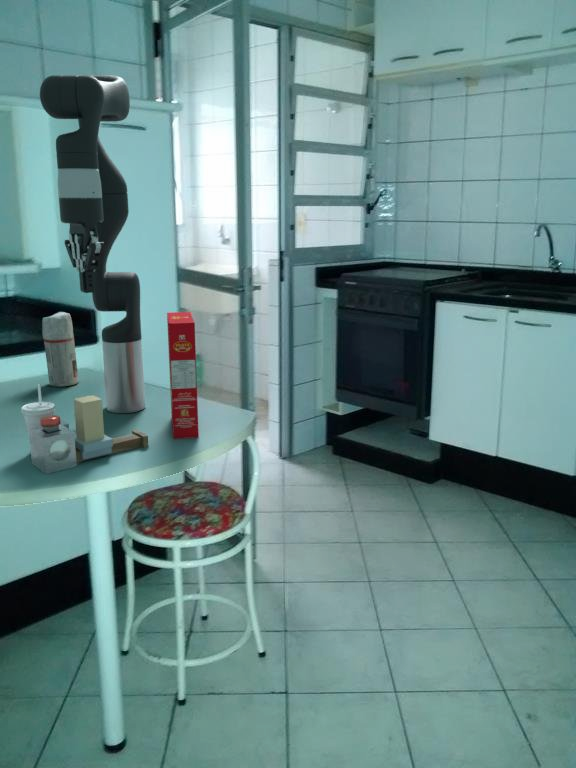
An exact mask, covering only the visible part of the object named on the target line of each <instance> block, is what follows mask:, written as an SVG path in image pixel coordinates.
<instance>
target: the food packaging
mask: <svg viewBox="0 0 576 768" xmlns="http://www.w3.org/2000/svg"><path fill="white" fill-rule="evenodd" d="M166 316H167V317H166V318H167V319H166V320H167V321H166V322H167V344H168V363H169V385H170V386H169V387H170V390H169V391H170V408H171V409H170V410H171V423H172V424H171V425H173V426H172V432H173V440H178V439H192V438H193V439H195V438H196V439H197V438H200V437H199V435H200V434H199V409H198V407H199V406H198V382H197V379H198V377H197V357H196V356H197V354H196V352H197V351H196V349H197V348H196V326H195V325H196V323H195V320H194V317H193V314H192V312H191V311H185V312H184V311H181V312H177V311H175V312H166Z"/></svg>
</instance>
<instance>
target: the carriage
mask: <svg viewBox="0 0 576 768" xmlns="http://www.w3.org/2000/svg"><path fill="white" fill-rule="evenodd" d="M73 406H74V408H73V409H74V410H73V411H74V422H75V430H76V431H75V432H76V434H74V437H75V447H76V448H77V449H79V450H80V451H81V459H83V460H84V459H88V458H92V457H96V456H100V455H104V454H109V453H112V448H111V447H112V446H113V438H112V437H109V436H108V435H107V434H105V427H104V413H103V399H102V398H100V397H98V396H96V395H94V394H93V395H87V396H81V397H75V398H73ZM60 422H61V424H62V425H64V426H65V427H67V428H69V429H70V423H69V422H66V421H65V420H63V419H61V418H60ZM109 455H110V454H109ZM84 461H85V460H84Z"/></svg>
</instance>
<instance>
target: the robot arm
mask: <svg viewBox="0 0 576 768" xmlns="http://www.w3.org/2000/svg"><path fill="white" fill-rule="evenodd" d="M39 100H40V103H41V106H42V109H43V110H44V112H46V113H47V114H48V115H49V116H50V117H51V118H54V119H58V120H77V122H78V127H79V128H78V129H77V130H75V131H72V132H71V131H70V132H66V133H63V134H59V135H58V136H57V137H56V139H55V151H56V153H55V154H56V164H57V192H58V193H57V194H58V196H57V197H58V206H59V219H60V222H61V223H62V224H69V232H68V233H69V235H68V238H69V239H64V247H65V249H66V252H67V254H68V256H69V260H70V262H71V265H72V268H75V269H76V272H77V273H78V275H79V276H78V277H79V287H80V288H79V289H80V292H81V293H84V294H89V293H90V294H91V295H92V302H93V306H94V308H95V309H96V310H97V311H98V312H109V313H110V312H125V313H126V315H125V316H124V317H123V318H122V319H121V320H119V321H118V322H116V323H115V322H114V323H113V324H109V325H107V326H105V327H103V328H102V329H101V340H102V341H101V343H102V354H103V355H102V356H103V358H102V359H103V375H104V376H103V377H104V389H105V404H106V410H107V411H108V412H110V413H113V414H114V413H116V414H129V413H130V414H131V413H137V412H140V411H143V410H144V409H146V396H145V375H144V360H143V359H144V358H143V343H142V339H143V338H142V337H143V336H142V325H141V284H140V283H141V282H140V279H139V276H138V274H137V273H135V272H134V271H107V262H108V257H109V256H110V255H109V254H110V252H111V250H112V247H113V245H114V243H115V242H116V239H117V238H118V236H119V234H121V232H122V230H123V227H124V226H125V224H126V222H127V220H128V218H129V217H128V216H129V210H130V209H129V198H128V197H129V196H128V195H129V194H128V186H127V183H126V180H125V178H124V176H123V175H122V173H121V171H120V170H119V168H118V167H117V165H116V164H115V163H114V162H113V160H112V159H111V157H110V156H109V155H108V153H107V152H106V149H105V148H104V146H103V144H102V141H101V140H100V137H99V131H100V125H101V122H112V123H113V122H115V123H116V122H121V121H124V120H126V118H127V117H128V115H129V113H130V101H131V100H130V93H129V88H128V85H127V82H126V81H125V80H124V79H123V78H122V77H120V76H116V75H111V74H110V75H106V74H105V75H102V74H101V75H98V74H97V75H96V74H82V75H77V74H76V75H71V74H70V75H69V74H67V75H66V74H65V75H64V74H63V75H62V74H57V75H55V74H54V75H49V76H47V77H46V78H44V80H42V82H41V84H40V89H39Z"/></svg>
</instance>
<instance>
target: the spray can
mask: <svg viewBox="0 0 576 768" xmlns="http://www.w3.org/2000/svg"><path fill="white" fill-rule="evenodd" d="M41 325H42V328H41V329H42V333H41V334H42V338H43V344H44V352H45V360H46V361H45V362H46V368H47V376H48V381H49V386H52V387H55V388H56V387H59V388H62V387H67V386H68V387H69V386H73V385H76V384H78V383H79V374H78V373H79V371H78V365H77V353H76V345H75V335H74V327H73V320H72V317H71V314H70V313H68V312H65V311H58V312H56V313H54V314H52V315H50V316H46V317H42V324H41Z"/></svg>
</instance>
